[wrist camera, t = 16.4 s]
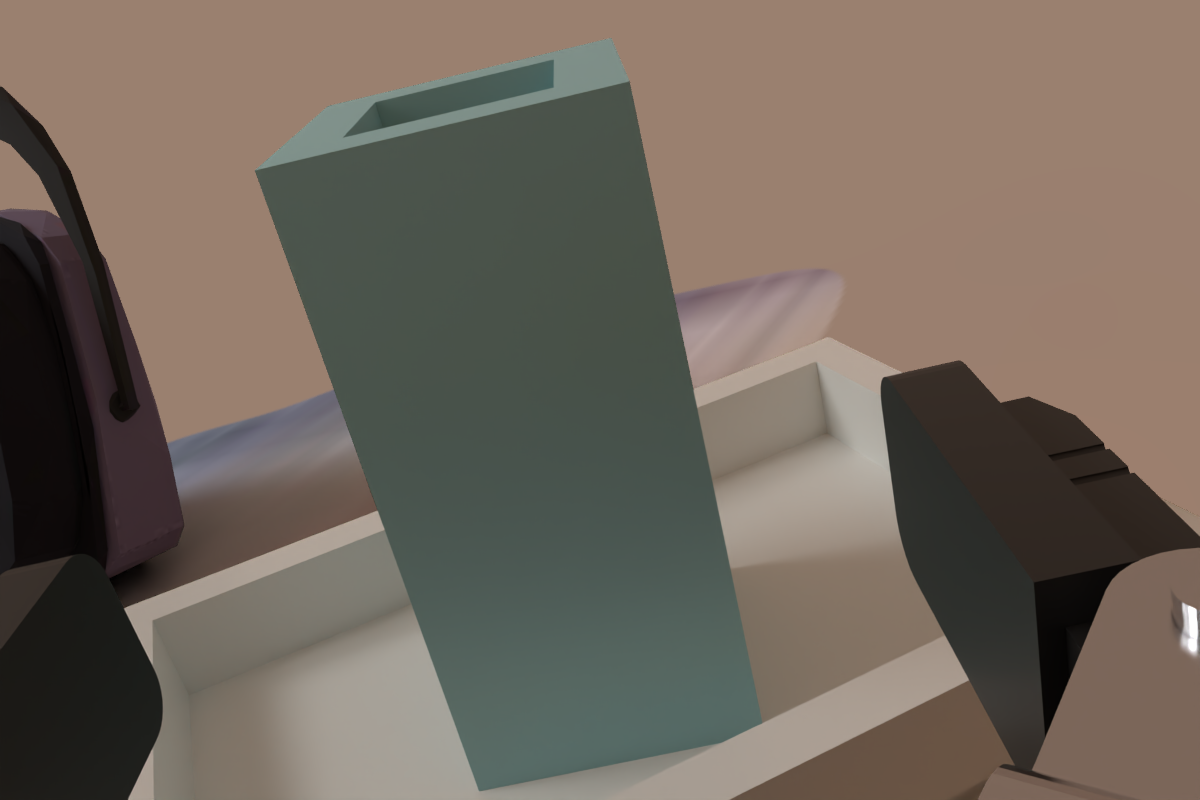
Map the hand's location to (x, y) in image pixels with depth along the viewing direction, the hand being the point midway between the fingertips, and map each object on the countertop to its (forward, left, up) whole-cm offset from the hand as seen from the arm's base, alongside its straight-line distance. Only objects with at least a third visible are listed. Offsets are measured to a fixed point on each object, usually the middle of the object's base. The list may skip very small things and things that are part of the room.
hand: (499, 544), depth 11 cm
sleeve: (+2, +7, -8) cm, 11 cm away
